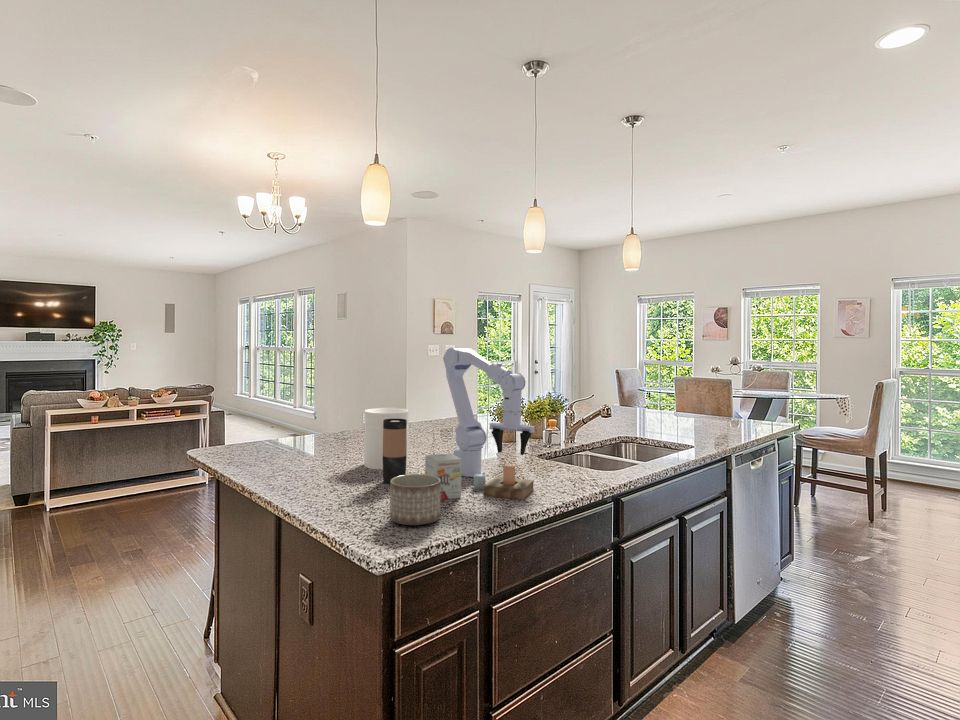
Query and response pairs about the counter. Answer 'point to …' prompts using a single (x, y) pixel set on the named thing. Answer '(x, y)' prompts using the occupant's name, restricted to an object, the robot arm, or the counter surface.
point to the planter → (415, 499)
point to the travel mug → (394, 448)
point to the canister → (379, 434)
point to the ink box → (446, 473)
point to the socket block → (508, 488)
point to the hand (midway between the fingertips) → (511, 453)
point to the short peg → (479, 481)
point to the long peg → (509, 475)
